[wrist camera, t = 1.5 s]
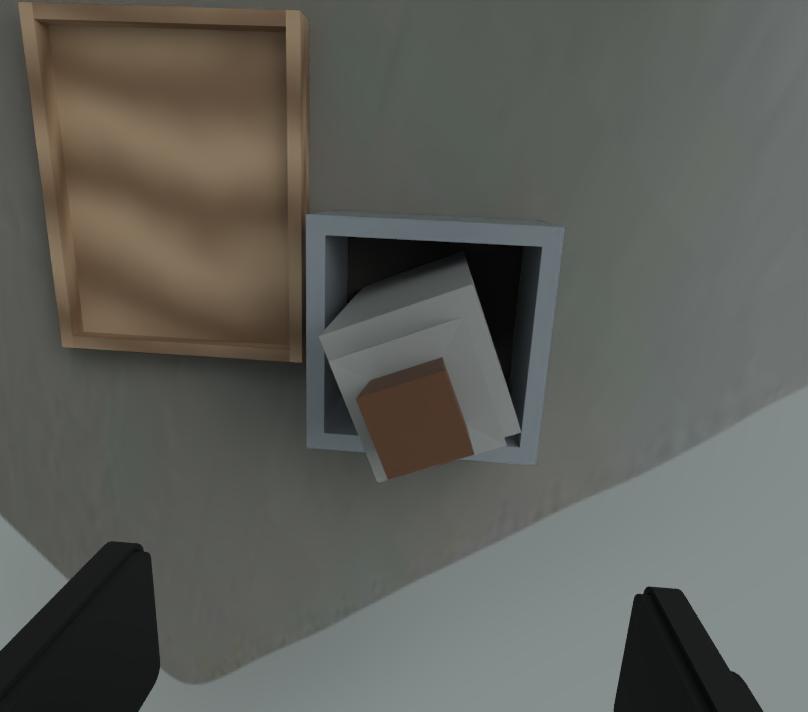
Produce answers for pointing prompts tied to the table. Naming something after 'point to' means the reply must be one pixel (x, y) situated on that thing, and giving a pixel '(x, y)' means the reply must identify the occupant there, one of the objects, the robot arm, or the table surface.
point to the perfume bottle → (420, 370)
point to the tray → (174, 175)
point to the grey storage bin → (538, 239)
